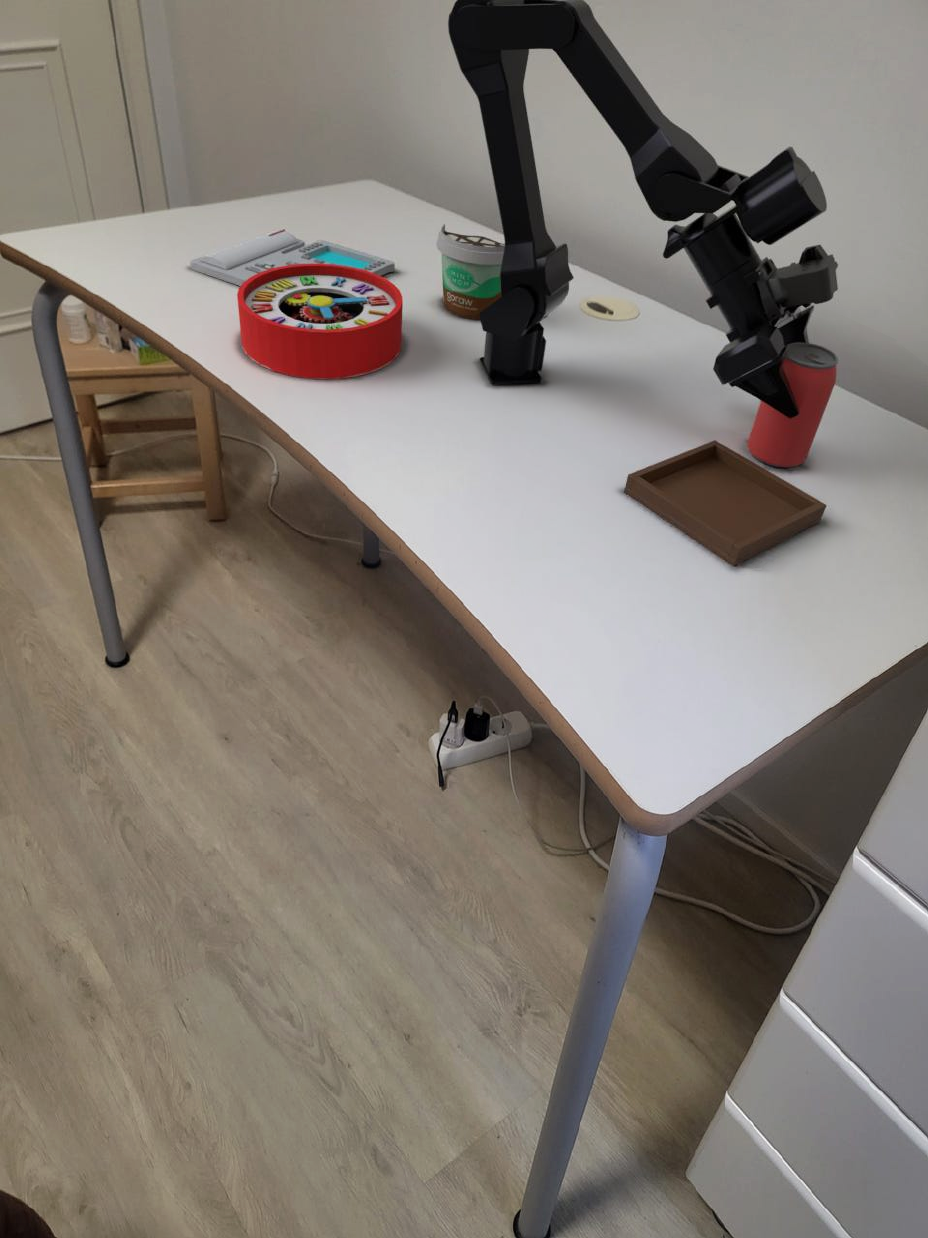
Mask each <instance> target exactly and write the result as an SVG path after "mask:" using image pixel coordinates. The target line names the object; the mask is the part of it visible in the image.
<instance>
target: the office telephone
mask: <svg viewBox="0 0 928 1238" xmlns="http://www.w3.org/2000/svg"><path fill="white" fill-rule="evenodd" d="M305 243H306V241H304V240H303V239H299V238H297V237H296V236H295V235H294V234H292V233H291V232H289V231H286V229H285V228H284V229H276V230H272V231H270V232H268V233H265V234H261V235H259V236H257V237H254V238H251V239H248V240H245V241H243V242H240V243H236V244H234V245H231V246H228V247H226V248H223V249H220V250H217V251H215V252H212V253H210V254H207V255H204V256H201V257H198V258H194V259H192V260H189V262H190V263H189V264H190V269H191V270H193V271H195V272H198V273H201V274H204V275H207V276H210V277H213V278H216V279H218V280H220V281H224V282H226V283H227V282H228V283H230V284H233V285H236V286H239V287H240V286H241V285H242V284H243V283H244V282H245V281H246V280H247V279H249V278H250V277H252V276H254V275H256V274H258V273H260V272H263V271H266V270H269V269H273V268H277V267H282V266H288V265H295V264H317V263H318V264H334V265H343V266H348V267H354V268H358V269H362V270H365V271H369V272H372V273H374V274H377V275H379V276H381V277H382V276H384V275H385V274H388V273H390V272H395V267H396V266H395V265H396V264H395V262H394V261H392V260H389V259H387V258H384V257H380V256H377V255H374V254H371V253H368V252H365V251H360V250H357V249H354V248H351V247H348V246H344V245H341V244H338V243H334V242H330V241H327V240H323V239H318V240H316V241H314V242H312V243H309V244H307V245H305Z"/></svg>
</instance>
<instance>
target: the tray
mask: <svg viewBox="0 0 928 1238" xmlns="http://www.w3.org/2000/svg"><path fill="white" fill-rule="evenodd" d="M623 492H624V493H625V494H627V495H628V496H630V497H631V498H633V499H634V500H635V501H637V502H639V503H640V504H641V505H643V506H644V507H646V508H647V509H649V510H651V511H652V512H653V513H655V514H656V515H658V516H659V517H660V518H662V519H664V521H667V522H668V523H670V524H671V525H673V526H674V527H676V528H677V529H678V530H679V531H681V532H683V533H684V534H685V535H687V536H689V537H690V538H692V539H693V540H695V541H696V542H697V543H699V544H700V545H702V546H703V547H705V548H706V549H707V550H709V551H711V552H713V553H714V555H717V556H718V557H720V558H721V559H723V561H725V562H727V563H729V564H730V565H731V566H733V567H735V566H737V565H739V564H741V563H743V562H745V561H747V560H749V559H751V558H753V557H754V556H755V557H756V555H758V554H760V553H762V552H764V551H767V550H768V549H770V548H772V547H775V546H776V545H778V544H780V543H782V542H783V541H786V540H788V539H790V538H791V537H794V536H795V535H797V534H800V533H802V532H803V531H806V530H807V529H809V528H811V527H813V526H815V525H817V524H820V523H821V520H822V517H823V516H824V512H825V511H826V508H827V504H826V503H824V502H822V501H820V500H819V499H817V498H815V497H813V496H812V495H811V494H808V493H807V492H805V491H803V490H802V489H800V488H798V487H796V486H795V485H793V484H791V483H790V482H788V481H786V480H784V479H783V478H781V477H779V476H777V475H776V474H774V473H773V472H771V471H769V470H767V469H766V468H764V467H763V466H760V465H759V464H757V463H756V462H753V461H752V460H750V459H749V458H747V457H745V456H743V455H742V454H740V453H738V452H736V451H735V450H733V449H731V448H730V447H728V446H727V445H725V444H723V443H721V442H719V441H717V440H716V439H714V440H712V441H709V442H706V443H704V444H702V445H699V446H696V447H695V448H692V449H689V450H686V451H685V452H684V451H683V452H682V453H679V454H677V455H674V456H672V457H669V458H666V459H664V460H661V461H659V462H656V463H654V464H651V465H648V466H647V467H644V468H641V469H639V470H636V471H633V472H632V473H628V474H627V478H626V482H625V487H624V490H623Z"/></svg>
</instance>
